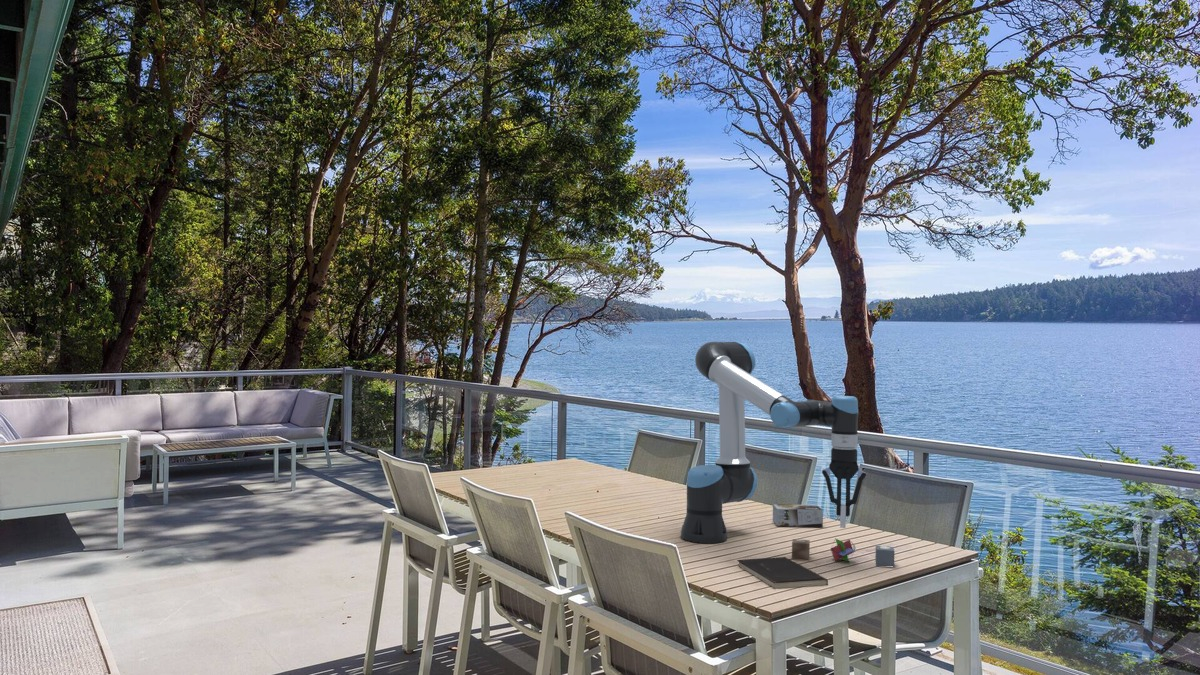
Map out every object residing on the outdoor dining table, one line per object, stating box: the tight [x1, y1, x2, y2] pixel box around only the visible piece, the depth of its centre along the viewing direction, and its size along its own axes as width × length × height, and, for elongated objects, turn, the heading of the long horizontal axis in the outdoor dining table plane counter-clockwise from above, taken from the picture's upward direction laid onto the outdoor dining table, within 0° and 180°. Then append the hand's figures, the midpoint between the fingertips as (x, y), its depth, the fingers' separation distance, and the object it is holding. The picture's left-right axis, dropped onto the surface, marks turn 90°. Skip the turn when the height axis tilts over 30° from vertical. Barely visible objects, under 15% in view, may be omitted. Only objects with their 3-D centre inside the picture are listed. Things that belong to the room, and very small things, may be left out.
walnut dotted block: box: [791, 538, 811, 561], centre depth 256 cm, size 5×5×5 cm
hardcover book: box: [736, 556, 829, 589], centre depth 237 cm, size 16×23×2 cm
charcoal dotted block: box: [874, 545, 895, 568], centre depth 250 cm, size 5×5×5 cm
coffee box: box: [772, 503, 824, 528], centre depth 302 cm, size 9×6×16 cm
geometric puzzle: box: [830, 538, 857, 564], centre depth 253 cm, size 7×7×8 cm
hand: (842, 526), depth 253 cm, fingers closed
